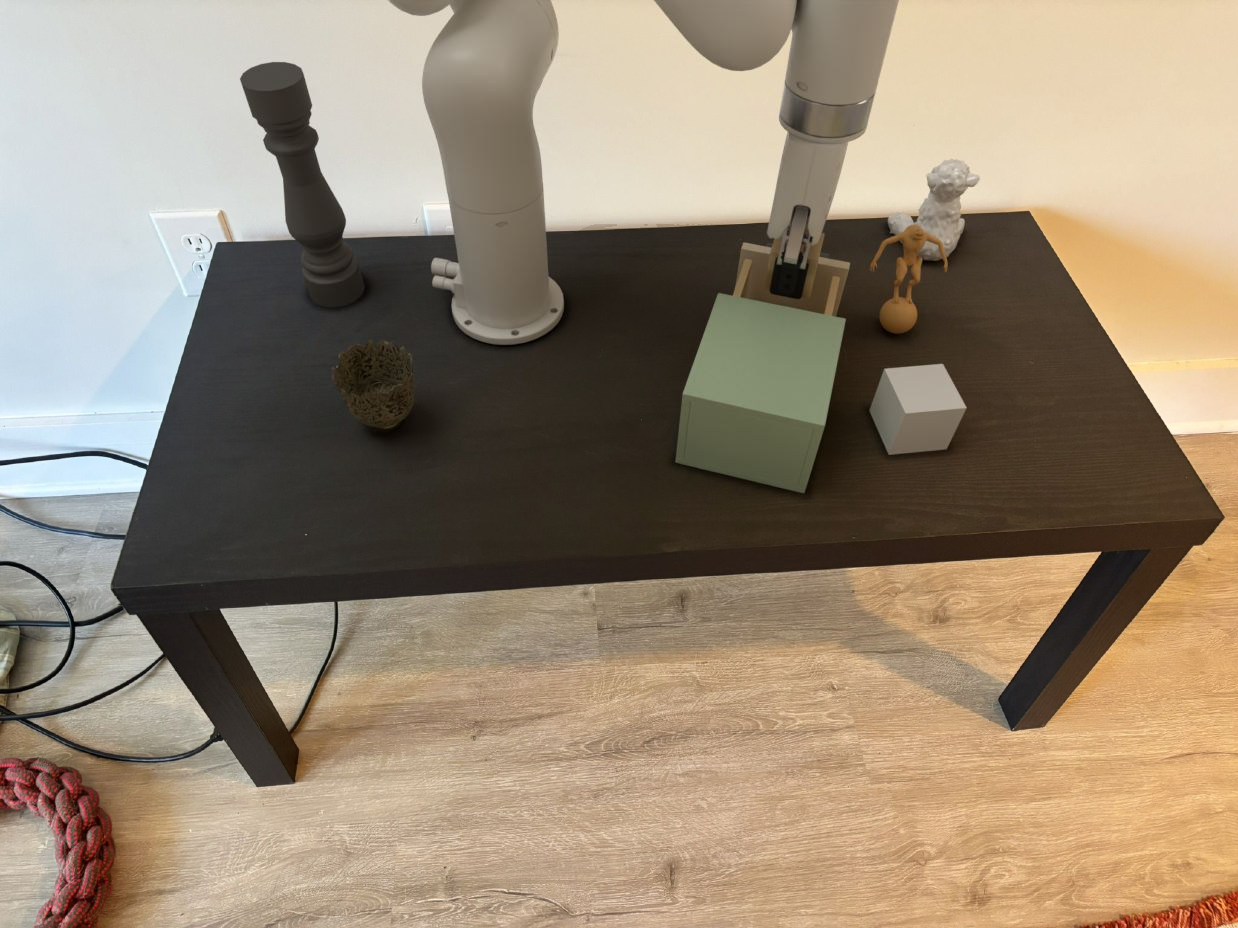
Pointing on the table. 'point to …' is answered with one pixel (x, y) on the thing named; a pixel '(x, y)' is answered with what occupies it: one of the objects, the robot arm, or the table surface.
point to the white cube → (916, 409)
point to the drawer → (821, 298)
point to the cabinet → (759, 392)
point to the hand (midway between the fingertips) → (790, 277)
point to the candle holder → (304, 182)
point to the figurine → (899, 310)
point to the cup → (376, 384)
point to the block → (812, 256)
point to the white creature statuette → (939, 208)
